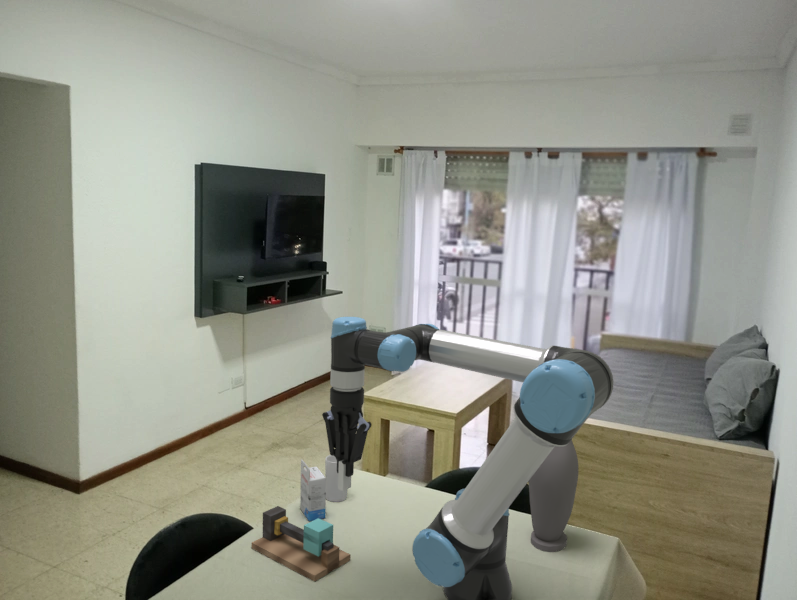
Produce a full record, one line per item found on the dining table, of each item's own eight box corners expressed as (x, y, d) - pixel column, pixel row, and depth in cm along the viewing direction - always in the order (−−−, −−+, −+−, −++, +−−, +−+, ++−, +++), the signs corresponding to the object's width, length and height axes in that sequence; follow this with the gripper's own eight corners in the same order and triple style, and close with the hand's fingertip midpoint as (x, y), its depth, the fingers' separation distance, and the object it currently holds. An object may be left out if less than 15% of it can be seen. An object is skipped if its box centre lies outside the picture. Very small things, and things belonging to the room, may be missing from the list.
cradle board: (350, 560, 155) (351, 529, 154) (314, 581, 145) (315, 548, 144) (287, 529, 168) (287, 501, 167) (250, 547, 159) (250, 517, 158)
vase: (571, 558, 159) (581, 421, 155) (518, 548, 163) (527, 414, 159) (574, 535, 171) (584, 407, 167) (525, 526, 175) (533, 401, 171)
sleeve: (332, 548, 153) (333, 524, 152) (318, 556, 149) (318, 532, 148) (317, 541, 156) (318, 518, 155) (303, 549, 152) (303, 525, 151)
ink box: (326, 518, 175) (327, 467, 173) (308, 522, 173) (309, 469, 171) (316, 505, 183) (317, 455, 181) (299, 508, 181) (300, 458, 179)
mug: (346, 503, 185) (347, 463, 183) (322, 501, 185) (323, 462, 183) (350, 488, 195) (351, 450, 193) (328, 487, 195) (329, 449, 193)
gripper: (380, 389, 141) (377, 491, 144) (337, 378, 149) (335, 475, 152) (358, 396, 135) (355, 502, 138) (314, 384, 143) (312, 485, 146)
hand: (344, 488), depth 145 cm, fingers closed
